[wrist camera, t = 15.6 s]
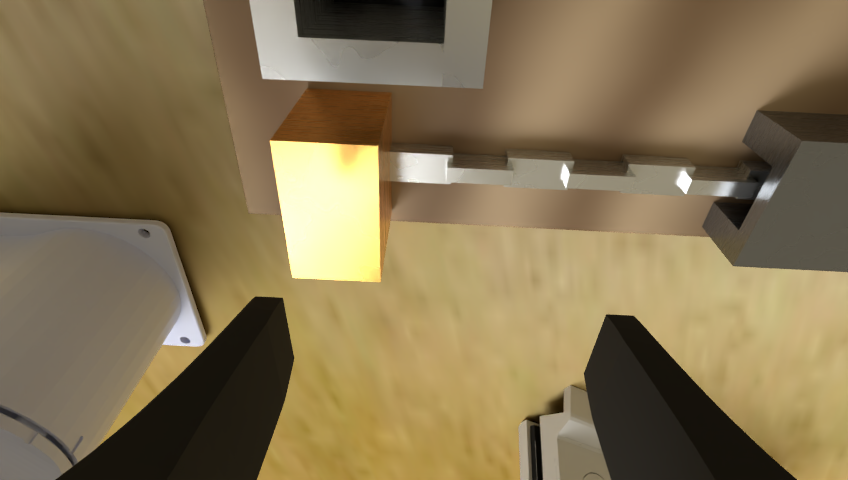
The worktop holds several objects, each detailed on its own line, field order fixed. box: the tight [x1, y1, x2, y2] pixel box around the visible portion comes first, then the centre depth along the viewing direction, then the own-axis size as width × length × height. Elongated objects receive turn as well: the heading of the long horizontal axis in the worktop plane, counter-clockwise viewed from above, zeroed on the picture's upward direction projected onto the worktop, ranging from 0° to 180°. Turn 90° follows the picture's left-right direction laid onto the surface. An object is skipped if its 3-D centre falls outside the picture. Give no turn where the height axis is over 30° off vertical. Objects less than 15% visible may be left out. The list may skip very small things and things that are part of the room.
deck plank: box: [203, 0, 848, 237], centre depth 15 cm, size 30×16×1 cm, turn 88°
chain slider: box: [270, 88, 772, 282], centre depth 16 cm, size 18×5×4 cm, turn 88°
